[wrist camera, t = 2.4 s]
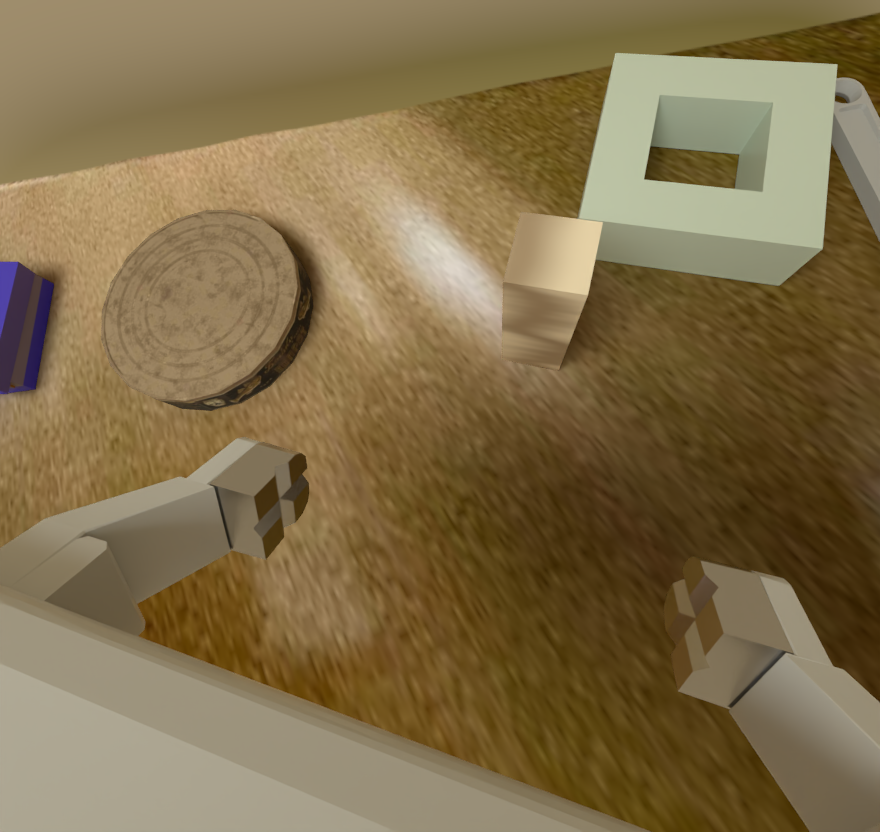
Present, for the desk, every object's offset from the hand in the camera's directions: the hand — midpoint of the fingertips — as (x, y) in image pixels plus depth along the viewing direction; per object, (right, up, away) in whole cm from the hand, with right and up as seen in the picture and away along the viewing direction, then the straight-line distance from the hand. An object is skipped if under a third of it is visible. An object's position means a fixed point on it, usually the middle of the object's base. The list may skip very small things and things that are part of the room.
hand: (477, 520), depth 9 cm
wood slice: (-19, +10, +26) cm, 33 cm away
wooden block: (+6, +8, +21) cm, 23 cm away
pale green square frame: (+17, +19, +22) cm, 34 cm away
